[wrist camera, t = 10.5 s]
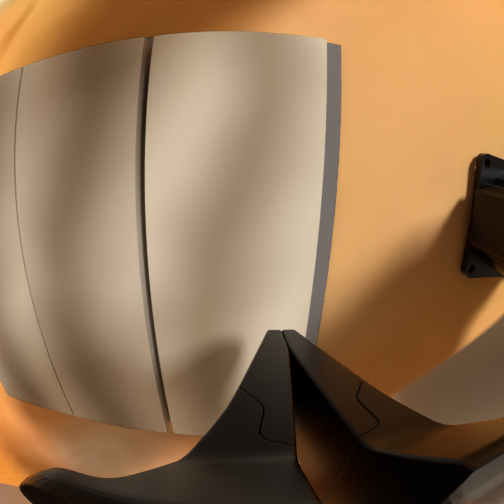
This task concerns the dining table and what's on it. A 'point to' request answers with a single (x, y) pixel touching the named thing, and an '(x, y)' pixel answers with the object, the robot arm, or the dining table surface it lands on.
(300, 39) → the loose plank
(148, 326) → the laid planks
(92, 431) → the dining table surface
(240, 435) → the robot arm
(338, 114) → the underlay mat
